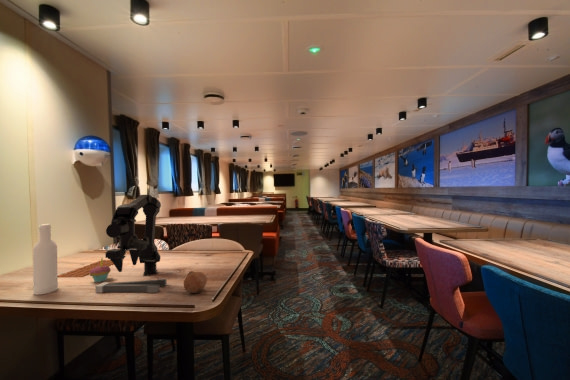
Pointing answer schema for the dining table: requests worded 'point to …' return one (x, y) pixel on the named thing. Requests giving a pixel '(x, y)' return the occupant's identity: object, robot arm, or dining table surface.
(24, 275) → the dining table surface
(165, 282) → the arm
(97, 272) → the cupcake
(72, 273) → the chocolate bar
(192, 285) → the tan round lump
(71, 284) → the dining table surface
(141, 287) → the tongs base
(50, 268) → the bottle
